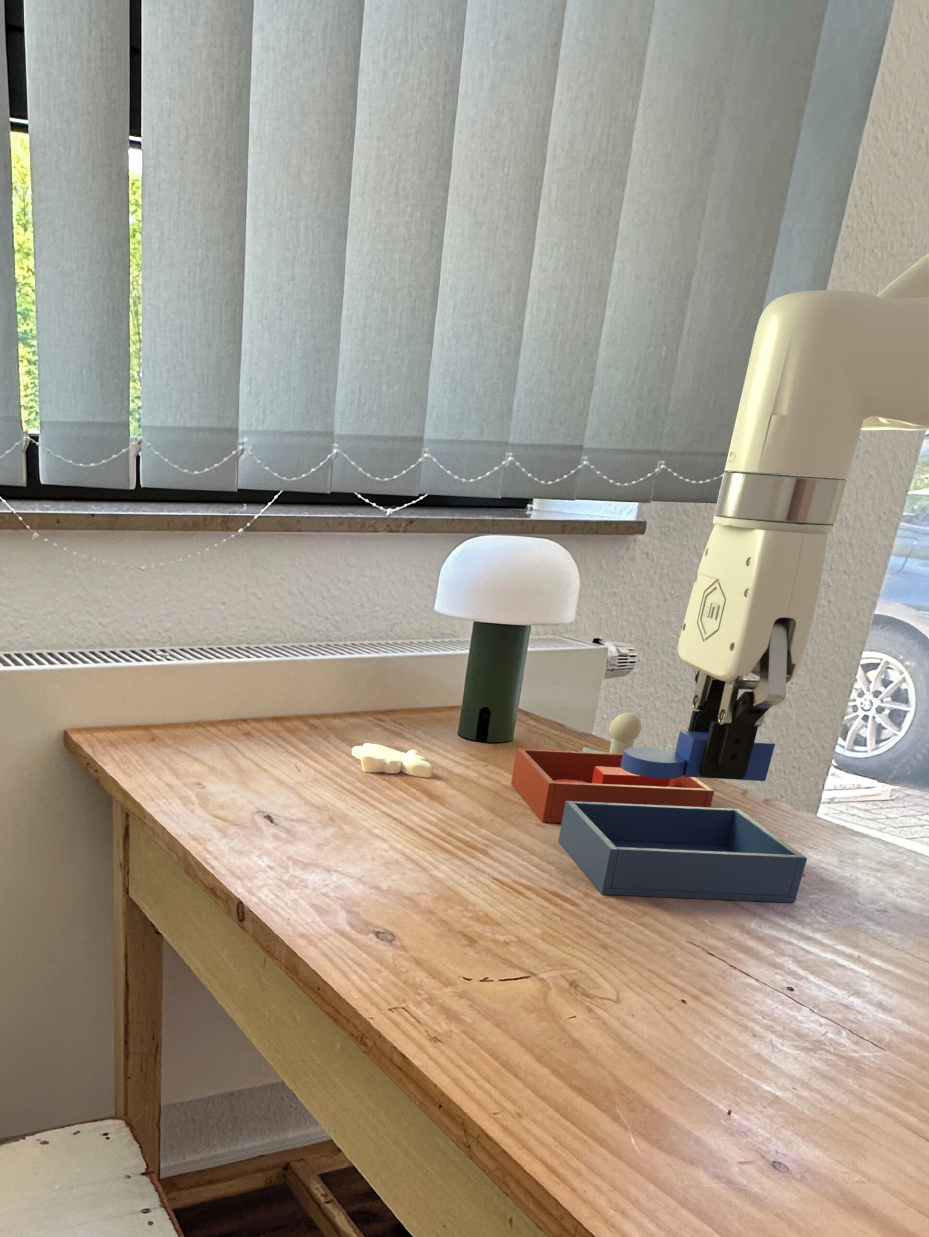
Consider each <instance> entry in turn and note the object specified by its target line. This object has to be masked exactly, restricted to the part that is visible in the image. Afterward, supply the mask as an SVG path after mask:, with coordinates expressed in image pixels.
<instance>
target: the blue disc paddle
mask: <svg viewBox="0 0 929 1237" xmlns="http://www.w3.org/2000/svg"><path fill="white" fill-rule="evenodd" d="M708 733H709V732H694V731H688V730H680V731H679V734H678V738H677V743H676V746H675V751H671V750H667V749H663V748H655V747H647V746H646V747H645V746H634V747H632V748H627V749H625V750H624V752H623V756H622V761H621V768H622V769H623V770H625V771H627V772H630V773H632V774H636V775H639V776H644V777H649V778H657V779H675V778H679V777H681V776H682V775H683V776H685V777H696V778H697V779H706V778H705V777H703V776H702V775H701V774H700V772H699V771H700V766H701V762H702V758H703V754H704V750H705V746H706V741H707V737H708ZM775 746H776V743H774V742H772V741H770V740H769V739H767V738H765V737H764V736H761V735H759V734H756V737H755V741H754V745H753V749H752V753H751V757H750V760H749V764H748V768H747V772H746V775H745V777H744V778H743V779H740V780H739V781H756V782H766V780H767V776H768V772H769V769H770V764H771V762H772V758H773V755H774V750H775ZM715 779H717V780H719V779H718V778H715ZM734 780H736V781H737V779H733V781H734Z"/></svg>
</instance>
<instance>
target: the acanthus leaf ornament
mask: <svg viewBox="0 0 929 1237" xmlns="http://www.w3.org/2000/svg"><path fill="white" fill-rule="evenodd" d="M420 754H421V753H419V751H418V750H416V749H410V750H408V751H407V752H403V751H399V750H397V749H395V748H394V749H393V748H391V747H388V746H385V745H381V744H377V743H369V742H366V743H363V745H356V746H353V747H352V748H351V756H352V757H355V758H356V760H359V761H360V764H361V768H362V771H363V772H365V773H385V774H398V773H400V772H402V773H404V774H407V775H409V776H413V777H419V778H427V779H430V778H431V776H432V774H433V770H434V767H433V765H432V764H431V763H430V762H428V761H427V758H426V757H424V756H422V755H420Z"/></svg>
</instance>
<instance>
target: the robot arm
mask: <svg viewBox="0 0 929 1237" xmlns="http://www.w3.org/2000/svg"><path fill="white" fill-rule="evenodd" d="M751 346H752V347H751V351H750V355H749V360H748V364H747V368H746V373H745V377H744V381H743V387H742V392H741V396H740V400H739V405H738V409H737V414H736V418H735V423H734V427H733V431H732V436H731V441H730V446H729V450H728V454H727V458H726V459H727V460H726V463H725V467H724V472H723V475H722V479H721V484H720V488H719V493H718V497H717V501H716V502H717V503H716V506H715V511H714V516H713V520H712V524H713V529H712V530H711V533H710V534H709V538H708V539H707V540H708V541H707V543H706V546H705V549H704V551H703V554H702V557H701V560H700V563H699V566H698V570H697V573H696V576H695V579H694V583H693V587H692V590H691V594H690V597H689V601H688V605H687V608H686V613H685V616H684V620H683V624H682V628H681V631H680V635H679V639H678V643H677V649H676V650H677V655H678V656H679V658H680V659H681V660H682V662H684V663H685V664H686V665H687V666H689V667H691V668H692V670H693V673H694V681H695V684H696V685H695V688H694V694H693V697H692V700H691V707H692V709H693V710H692V711H691V716H690V721H689V725H688V729H687V731H694V732H709V733H708V737H707V741H706V746H705V750H704V754H703V758H702V762H701V766H700V771H699V772H700V774H701V775H702V776H703V777H705V778H704V779H716V778H718V779H717V780H734V779H737V780H738V781H741V780H740V779H743V778H744V777H745V775H746V772H747V768H748V764H749V760H750V757H751V753H752V749H753V745H754V741H755V737H756V735H758V734H757V733H758V730H759V728H761V726H762V725H763V724H764V721H765V717H766V714H767V712H768V710H770V708H772V707H774V706H777V705H779V704H781V703H783V702H784V701H785V699H786V695H787V684H788V683H790V682H791V681H793V680H794V679H795V678H796V676H797V675H798V672H799V670H800V667H801V664H802V663H803V662H802V661H803V658H804V655H805V652H806V649H807V647H808V646H807V645H808V641H809V638H810V633H811V630H812V625H813V621H814V617H815V613H816V609H817V603H818V598H819V594H820V589H821V584H822V577H823V572H824V566H825V559H826V553H827V546H828V545H827V544H828V537H829V534H834V532H835V528H836V523H837V520H838V517H839V513H840V509H841V506H842V502H843V499H844V498H843V497H844V495H845V490H846V487H847V482H848V480H847V479H848V478H849V474H850V470H851V467H852V463H853V460H854V456H855V452H856V449H857V446H858V443H859V442H858V441H859V439H860V435H861V432H862V431H882V430H883V431H884V430H885V431H886V430H900V431H929V252H928V253H927V254H925V255H924V256H923V257H921V258H920V259H919V260H917V261H916V262H915V263H913V265H911V266H910V267H909V268H907V269H906V270H905V271H904V272H902V273H901V274H900V275H899V276H897V277H896V278H895V279H894V280H893V281H891V282H890V283H889V284H887V286H885V287H883V289H882V290H880V292H878V293H877V294H872V293H867V292H861V291H853V290H841V289H840V290H837V289H836V290H835V289H833V290H832V289H826V290H825V289H822V290H820V289H819V290H818V289H817V290H805V291H797V292H790V293H786V294H783V295H781V296H778V297H776V298H775V299H773V300H772V301H771V302H770V303H769V304H768V305H767V306H766V307H765V308H764V310H763V311H762V312H761V315H760V317H759V319H758V321H757V326H756V329H755V333H754V339H753V340H752V345H751ZM750 674H752V675H755V676H757V677H759V678H758V679H754V678H744V677H748V676H749V675H750ZM740 690H746V691H743V692H742V694H741V695H740V696H739V692H740ZM747 690H748V691H747ZM737 780H736V781H737Z"/></svg>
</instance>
